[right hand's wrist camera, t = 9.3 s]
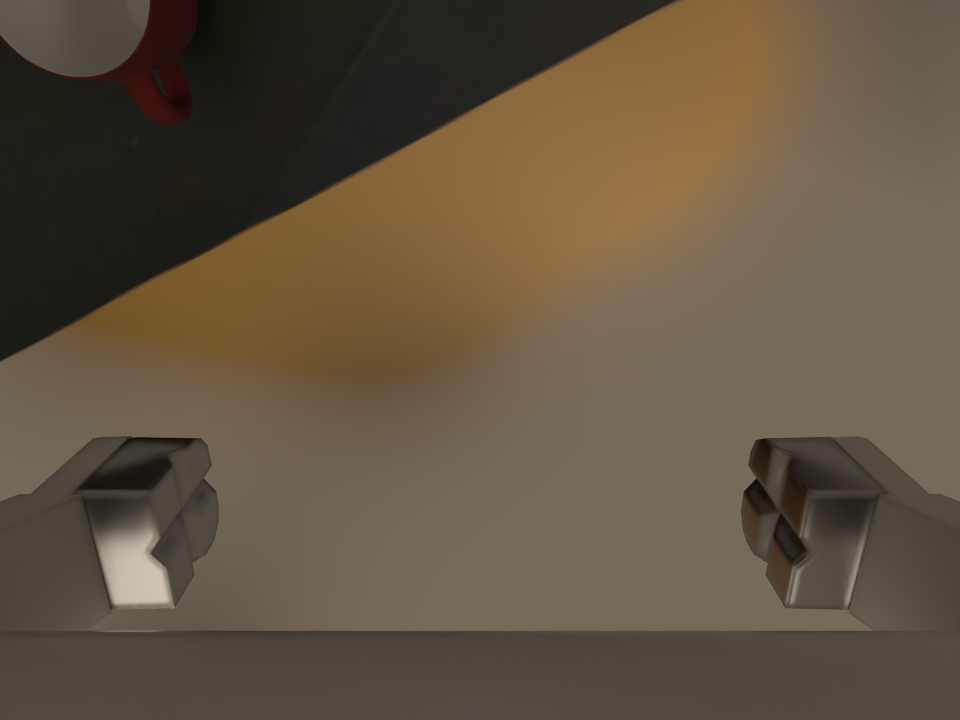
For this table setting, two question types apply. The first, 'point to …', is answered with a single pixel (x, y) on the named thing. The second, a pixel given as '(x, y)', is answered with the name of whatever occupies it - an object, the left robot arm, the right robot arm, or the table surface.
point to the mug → (109, 45)
